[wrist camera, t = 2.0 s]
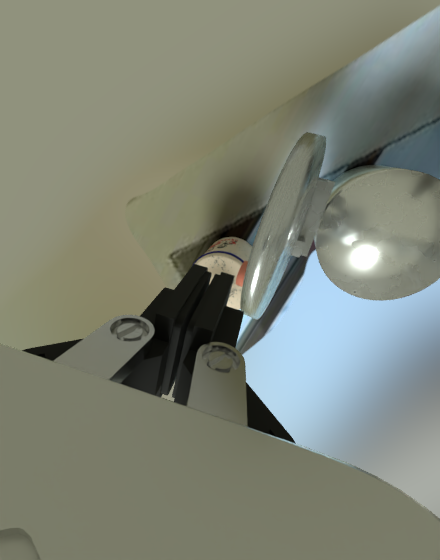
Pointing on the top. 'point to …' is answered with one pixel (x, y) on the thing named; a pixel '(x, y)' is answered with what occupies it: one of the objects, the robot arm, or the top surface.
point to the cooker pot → (376, 231)
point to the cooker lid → (281, 225)
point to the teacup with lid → (227, 263)
